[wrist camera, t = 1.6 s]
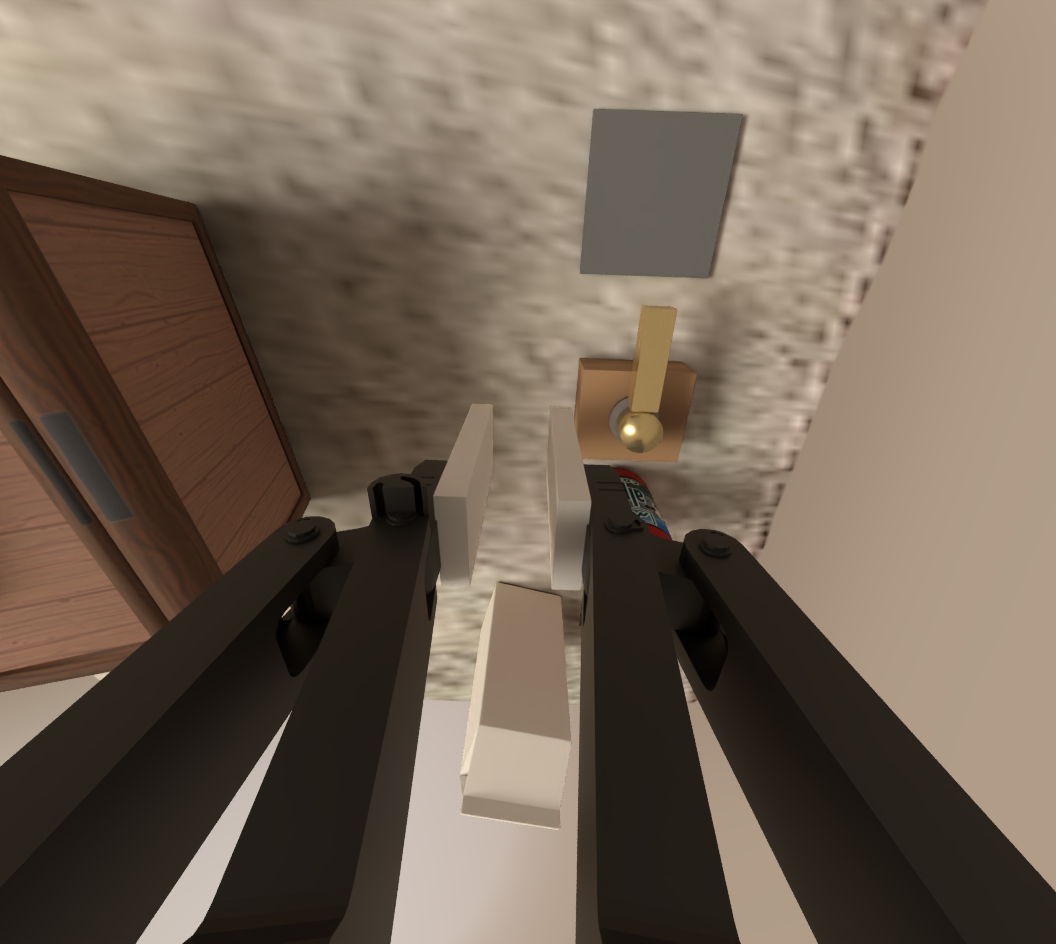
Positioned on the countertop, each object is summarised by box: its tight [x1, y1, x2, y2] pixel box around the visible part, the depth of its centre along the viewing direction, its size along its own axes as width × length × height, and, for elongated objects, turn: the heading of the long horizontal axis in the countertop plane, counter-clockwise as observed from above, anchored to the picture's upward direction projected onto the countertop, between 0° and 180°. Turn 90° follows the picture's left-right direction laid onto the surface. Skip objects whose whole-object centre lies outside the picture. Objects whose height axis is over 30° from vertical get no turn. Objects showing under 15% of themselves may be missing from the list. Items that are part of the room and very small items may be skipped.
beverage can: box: [614, 469, 672, 540], centre depth 33 cm, size 7×7×12 cm
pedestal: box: [574, 358, 697, 462], centre depth 33 cm, size 7×8×4 cm
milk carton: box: [460, 583, 571, 830], centre depth 37 cm, size 7×7×19 cm
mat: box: [580, 109, 743, 278], centre depth 28 cm, size 9×9×1 cm
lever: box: [616, 305, 677, 453], centre depth 28 cm, size 9×3×2 cm, turn 178°
